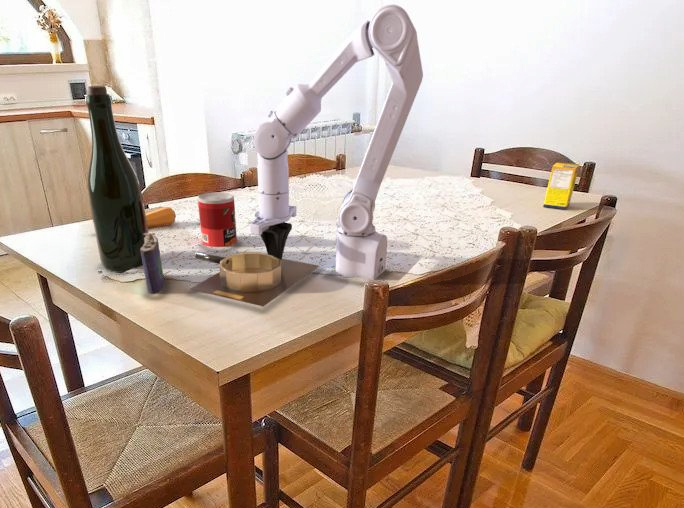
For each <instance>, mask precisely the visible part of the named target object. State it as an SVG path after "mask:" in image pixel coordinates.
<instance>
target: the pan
mask: <svg viewBox="0 0 684 508" xmlns="http://www.w3.org/2000/svg"><path fill="white" fill-rule="evenodd" d="M194 259H196V260H199V261H203V262H209V263H213V264H218V265H219V266H218V269H219V271H218V272H220V281H221V283H222V285H223V286H224V287H225V288H227V289H229V290H233V291H237V292H261V291H266V290H269V289H272V288H274V287H276V286H278V285H279V284H280V282H281V260H280V259H279V258H277V257H275V256H274V255H270V254H268V253H264V252H241V253H236V254H231V255H228V256H227V257H225V256H220V255H215V254H210V253H204V252H199V251H197V252H195V253H194Z"/></svg>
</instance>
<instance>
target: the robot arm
mask: <svg viewBox="0 0 684 508" xmlns="http://www.w3.org/2000/svg"><path fill="white" fill-rule="evenodd" d="M417 33H418V32H417V29H416V27H415V26H414V23H413V21H412V19H411V18H410V15H409V14H408V12H407V11H406V10H405V8H403V7H402V6H400V5H397V4H387V5H384V6H382V7H380V8H379V9H378V10H376V11H375V13H374V14H373V15H372V17H371V19H370V20H366V21H365V22H363V23H362V24H361V25H360V26H359V27H358V28H357V29H355V30H354V31H353V32H352V33H351V34H350V35H349V36H348V37H347V38H346V39H345V40H344V42H343V43H342V44H341V45H340V46H339V48H338V49H336V51H335V52H334V53H333V55H332V56H331V57H330V58H329V59H328V61H327V62H326V63H325V64H324V66H323V67H322V68H321V69H320V70H319V71H318V73H317V74H316V75H315V76H314V78H312V80H311V81H310V82H309V83H307V84H305V83H298V84H296V86H294V88H293V86H291V87H289V88H288V89H287V90H286V91H285V96H286V97H285V98H284V99H283V100H282V102H280V103H279V105H278V106H277V107H276V108H275V109H274V111H273V110H270V111H269V112H268V113H267V114H266V117H267V118H268V121H264V122H261V123H260V124H259V125H258V126H257V128H256V130H255V132H254V133H253V140H252V142H253V143H252V144H253V148H254V150H255V151H256V153H257V187H258V207H259V208H258V209H259V211H256V212H254V217H255V219H254V220H253V222H251V223H250V224H249V233H250V235H254V236H260V238H261V239H262V241H263V243H264V246H265V249H266V252H267V253H266V254H270V255H274V256H275V257H277V258H279V259H280V260H282V259H283V256H284V250H285V247H286V242H287V239H288V237H289V235H290V233H291V231H292V228H293V224H292V223H290V222H288V221H290V220H291V218H295V217H297V206H295V205H290V179H289V178H290V177H289V176H290V175H289V174H290V173H289V172H290V171H289V169H290V168H289V163H288V162H289V161H288V159H289V158H288V157H289V156H288V155H289V154H288V153H289V151H288V148H290V145H291V143H292V140H294V139H296V138H297V137H298V136H300V134H301V133H302V132H303V131H304V130H305V129H306V128H307V127H308V126H309V125H310V123H312V122H313V120H314V119H315V118H316V117H317V116H319V114H320V113H321V112H322V111H321V110H322V98H323V97H325V96H326V94H327V93H329V91H331V89H332V88H333V87H334V86H335V85H336V84H337V83H338V82H339V81H340V80H342V78H343V77H344V76H345V75H346V74H347V73H348V72H349V71H350V70H351V69H352V68H353V67H354V65H356V63H358V62H361V61H363V60H367V59H369V58H371V57H374V56H375V52H376V53H377V54H378V55H379V56H380V57H381V58H382V60H383V61H384V63H385V66H386V69H387V71H388V74H389V76H390V79H391V81H392V82H391V85H390V87H389V90H388V92H387V96H386V98H385V100H384V103H383V106H382V109H381V111H380V114H379V117H378V120H377V123H376V124H375V128H374V131H373V134H372V136H371V138H370V141H369V144H368V147H367V149H366V152H365V154H364V158H363V160H362V163H361V166H360V168H359V170H358V174H357V176H356V179H355V181H354V184H353V186H352V188H351V189H350V191H348V192H347V193H346V194H345V195H344V197H343V199H342V204H341V207H340V208H339V210H338V215H337V221H338V224H339V225H337V226H336V246H335V247H336V248H335V251H336V252H335V272H336V273H337V274H338V275H341V276H344V277H350V278H360V279H366V280H371V281H373V280H372V279H375V280H376V279H377V278H378V277H379V276H381V275H382V274H383V273H384V272H386V266H387V265H386V264H387V253H388V237H387V235H386V234H383V233H380V232H378V231H376V226H375V225H374V223H373V221H374V211H375V209H376V200H377V196H378V194H379V192H380V188H381V185H382V183H383V180H384V177H385V175H386V172H387V170H388V168H389V165H390V162H391V159H392V157H393V155H394V152H395V151H396V147H397V146H398V142H399V140H400V138H401V135H402V132H403V129H404V127H405V125H406V122H407V120H408V117H409V115H410V112H411V109H412V107H413V104H414V103H415V99H416V97H417V94H418V92H419V90H420V87H421V85H422V83H423V78H424V72H423V65H422V59H421V53H420V46H419V40H418V34H417ZM374 50H375V52H374Z"/></svg>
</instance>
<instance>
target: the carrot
mask: <svg viewBox="0 0 684 508" xmlns="http://www.w3.org/2000/svg"><path fill="white" fill-rule="evenodd" d="M145 214H146V219H147V225H148V229H150V228H156V227H165V226H171V225H172V224H174V223H175V222H176V218H177V214H176V212H175V210H173V208H172V207H171V206H163V207H160V208H157V209H155V210H152V211H150V212H147V213H145Z"/></svg>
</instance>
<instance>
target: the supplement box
mask: <svg viewBox="0 0 684 508" xmlns="http://www.w3.org/2000/svg"><path fill="white" fill-rule="evenodd" d="M579 169H580V163H570V162H569V163H567V162H556V163H555V164H553V165H552V167H551V172H550V176H549V180H548V184H547V188H546V193H545V196H544V201H543V208H551V209H559V210H565V211H566V210H567V209H568V207H569V206H570V203H571V200H572V196H573V192H574V188H575V184H576V180H577V177H578V173H579Z"/></svg>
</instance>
